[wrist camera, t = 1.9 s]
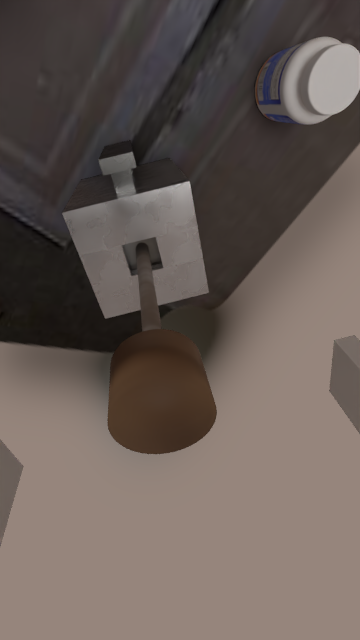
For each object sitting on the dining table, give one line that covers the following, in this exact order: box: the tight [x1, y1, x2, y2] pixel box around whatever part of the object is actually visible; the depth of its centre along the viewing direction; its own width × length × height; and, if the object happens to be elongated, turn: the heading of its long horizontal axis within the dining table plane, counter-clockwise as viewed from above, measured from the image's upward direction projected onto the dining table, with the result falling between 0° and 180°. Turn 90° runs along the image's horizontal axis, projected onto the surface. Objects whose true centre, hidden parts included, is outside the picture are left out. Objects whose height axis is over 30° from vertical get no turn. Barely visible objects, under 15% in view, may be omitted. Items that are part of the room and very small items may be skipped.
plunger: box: [108, 237, 217, 454], centre depth 19 cm, size 7×7×18 cm
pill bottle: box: [255, 37, 360, 124], centre depth 26 cm, size 5×5×10 cm
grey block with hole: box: [62, 140, 209, 319], centre depth 29 cm, size 9×11×12 cm
